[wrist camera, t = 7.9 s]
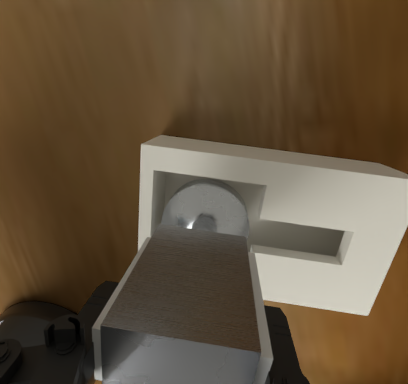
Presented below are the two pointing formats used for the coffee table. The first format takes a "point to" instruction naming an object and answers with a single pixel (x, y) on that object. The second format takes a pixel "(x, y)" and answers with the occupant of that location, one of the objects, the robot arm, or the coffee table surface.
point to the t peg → (187, 297)
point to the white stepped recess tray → (293, 215)
